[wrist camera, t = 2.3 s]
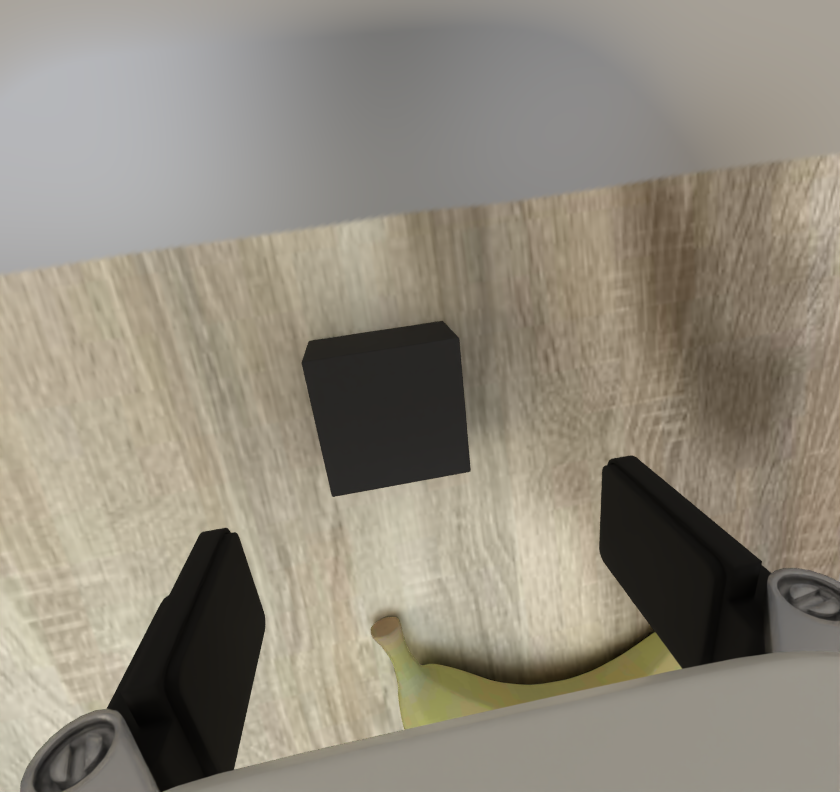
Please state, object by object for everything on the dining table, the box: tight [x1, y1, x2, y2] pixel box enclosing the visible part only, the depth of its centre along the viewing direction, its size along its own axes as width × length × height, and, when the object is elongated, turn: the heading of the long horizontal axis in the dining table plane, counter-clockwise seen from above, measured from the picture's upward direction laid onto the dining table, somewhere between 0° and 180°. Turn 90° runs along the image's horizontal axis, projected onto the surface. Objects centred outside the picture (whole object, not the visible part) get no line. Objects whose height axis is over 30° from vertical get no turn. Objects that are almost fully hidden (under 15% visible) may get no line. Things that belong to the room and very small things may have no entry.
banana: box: [371, 617, 682, 730], centre depth 27 cm, size 14×6×20 cm
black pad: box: [302, 321, 471, 497], centre depth 19 cm, size 6×6×3 cm
